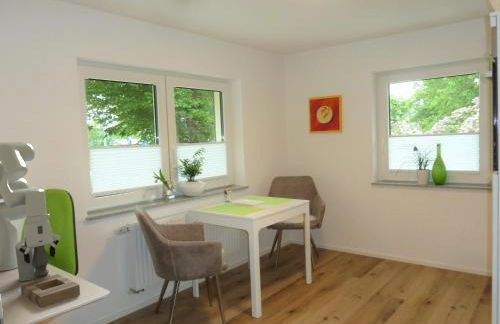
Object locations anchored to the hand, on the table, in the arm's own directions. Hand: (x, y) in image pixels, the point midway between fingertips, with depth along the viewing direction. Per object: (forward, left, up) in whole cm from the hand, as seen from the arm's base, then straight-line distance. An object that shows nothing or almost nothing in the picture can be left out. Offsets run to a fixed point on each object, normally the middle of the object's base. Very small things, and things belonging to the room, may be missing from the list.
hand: (40, 259), depth 161 cm
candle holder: (0, 0, -11) cm, 11 cm away
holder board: (+15, -3, -11) cm, 18 cm away
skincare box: (-13, 0, -11) cm, 17 cm away
